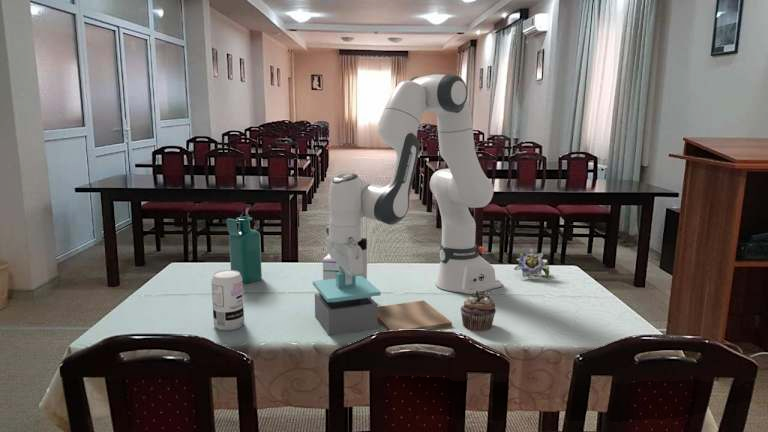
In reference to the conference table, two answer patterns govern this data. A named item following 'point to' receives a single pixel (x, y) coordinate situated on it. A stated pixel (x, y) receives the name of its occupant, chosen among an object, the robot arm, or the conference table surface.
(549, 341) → the conference table surface
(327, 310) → the storage box
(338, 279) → the lid
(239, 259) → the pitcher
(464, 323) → the cupcake
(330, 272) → the syrup box
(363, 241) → the travel mug
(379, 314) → the walnut board
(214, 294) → the supplement can
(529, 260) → the passion flower
